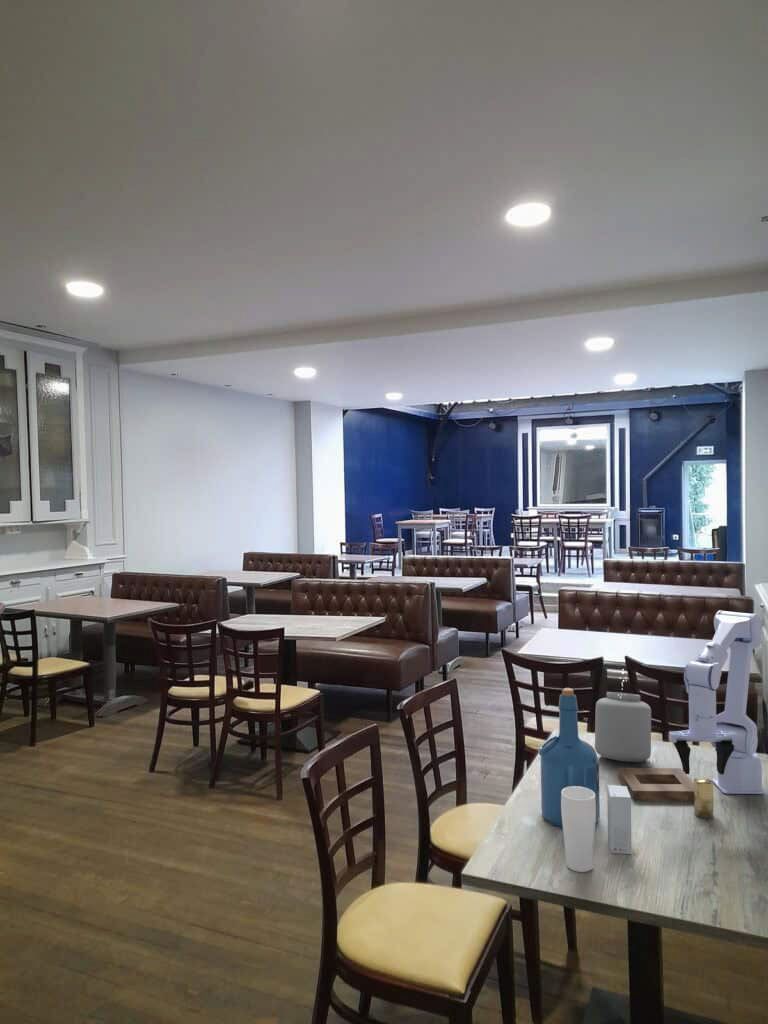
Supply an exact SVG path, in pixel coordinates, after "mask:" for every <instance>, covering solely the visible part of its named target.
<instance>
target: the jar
mask: <svg viewBox="0 0 768 1024" xmlns="http://www.w3.org/2000/svg"><path fill="white" fill-rule="evenodd" d="M621 670H622V672H621V674H624V673H625V672H624V668H623V669H621ZM619 679H622V678H621V677H619ZM624 679H625V680H624ZM624 679H623V680H622V682H621V686H622V687H624V685H623V682H627V681H628V680H627V677H626V676H625V677H624ZM621 690H623V688H621ZM594 717H595V721H594V722H595V723H594V724H595V725H594V726H595V727H594V728H595V729H594V750H595V752H596V754H598V755H599V756H601V757H603V758H606V759H610V760H615V761H620V762H630V763H633V762H634V763H639V762H640V763H642V762H645V761H647V760H649V759H650V757H651V755H652V754H651V752H652V708H651V707H650V705H649V704H648V703H646V702H644V701H642V700H641V695H640V694H635V693H627V692H618V691H617V692H616V691H614V692H613V691H606V697H603V698H602V697H601V698H600V699H598V700H597V701H596V703H595V716H594Z"/></svg>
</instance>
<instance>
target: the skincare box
mask: <svg viewBox="0 0 768 1024" xmlns="http://www.w3.org/2000/svg"><path fill="white" fill-rule="evenodd" d="M606 786H607V787H606V788H607V791H606V792H607V794H606V795H607V797H606V798H607V840H608V845H609V850H610V852H611V853H612V854H624V855H632V798H631V797H630V794H629V791H628V789H627V786H623V785H614V784H613V785H611V784H607V785H606Z"/></svg>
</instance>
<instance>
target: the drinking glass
mask: <svg viewBox="0 0 768 1024" xmlns="http://www.w3.org/2000/svg"><path fill="white" fill-rule="evenodd" d="M561 815H562V824H563V828H562V831H563V834H562V835H563V841H564V851H565V852H564V853H565V864H566V866H567V867H568V869H570V870H572V871H574V872H577V873H586V872H587V873H588V872H590V871H591V870H592V869H593V867H594V852H595V851H594V850H595V834H596V824H597V823H596V798H595V793H594V792H593V791H592V790H590V789H588V788H585V787H580V786H570V787H566V788H564V789H563V790H562V791H561ZM595 823H596V824H595Z"/></svg>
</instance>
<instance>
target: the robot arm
mask: <svg viewBox="0 0 768 1024" xmlns="http://www.w3.org/2000/svg"><path fill="white" fill-rule="evenodd" d="M713 628H714V631H715V633H714V635H713V637H712V640H711V641H709V642H706V643H704V644H703V646H702V648H701V650H699V653H698V654H697V656H696V658H695V659H694V660H692V661H690V662H687V663H686V665H685V667H684V672H683V681H684V684H685V689H686V690H685V691H686V693H687V694H688V729H685V730H684V729H683V730H678V731H677V730H676V731H669V732H668V739H669V741H670V742H671V743H673V745H674V747H675V749H676V750H677V754H678V756H679V759H680V762H681V766H682V771H683V772H684V773H685V774H686V775H690V755H691V751H692V750H691V747H690V746H689V744H688V743H690V742H691V743H692V742H693V743H710V744H711V746H712V747H713V748H714V751H715V752H716V771H717V778H712V779H711V780H712V781H713V785H715V786H716V787H717V788H718V789H719V791H721V792H722V793H723V794H726V795H729V794H730V795H732V794H733V795H734V794H736V795H738V794H739V795H763V794H764V791H763V768H762V767H763V766H762V761H761V759H760V757H759V754H757V753H756V752H757V748H758V742H759V741H758V740H759V738H758V726H757V725H756V723H755V722H754V721H753V720H752V719H751V718H750V717H749V716H748V715H747V706H748V705H747V703H748V693H749V683H750V675H751V674H750V672H751V662H752V655H753V652H754V651H753V650H755V649H758V648H760V645H761V641H762V629H763V624H762V618H761V617H760V615H759V614H758V613H748V612H747V613H746V612H736V611H728V610H727V611H726V610H722V609H720V610H718V611H717V612H716V613H715V615H714V618H713ZM728 649H730V655H729V653H728ZM728 658H729V663H728V673H727V684H726V693H725V703H724V711H722V712H720V713H718V714H717V691H716V690H718V688H719V686H720V682H721V677H722V669H723V667H724V665H725V664H726V662H727V660H728ZM730 724H732V725H730ZM735 725H736V726H735ZM737 725H738V726H737ZM740 726H741V727H740Z"/></svg>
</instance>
